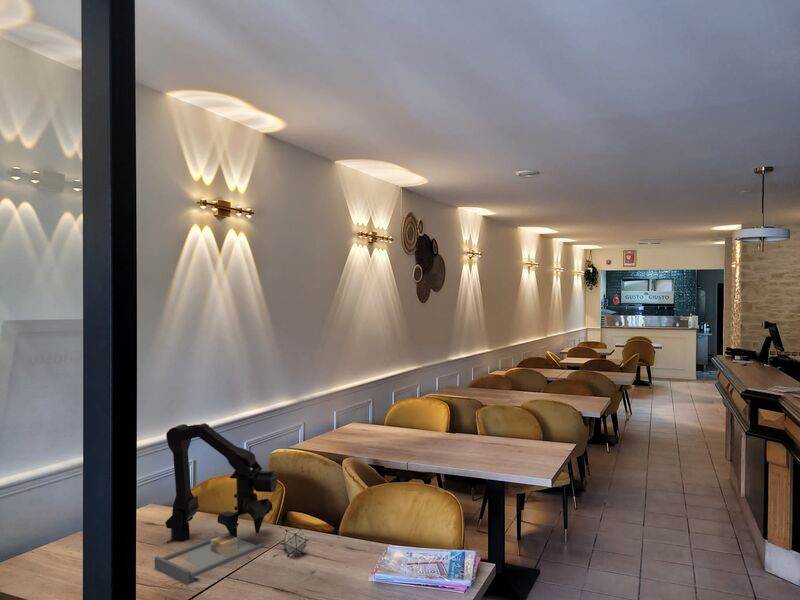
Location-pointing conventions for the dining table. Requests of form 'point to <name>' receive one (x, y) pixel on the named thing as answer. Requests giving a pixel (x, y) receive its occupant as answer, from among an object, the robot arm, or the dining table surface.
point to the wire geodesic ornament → (294, 541)
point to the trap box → (200, 559)
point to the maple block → (224, 544)
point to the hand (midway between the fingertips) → (246, 537)
